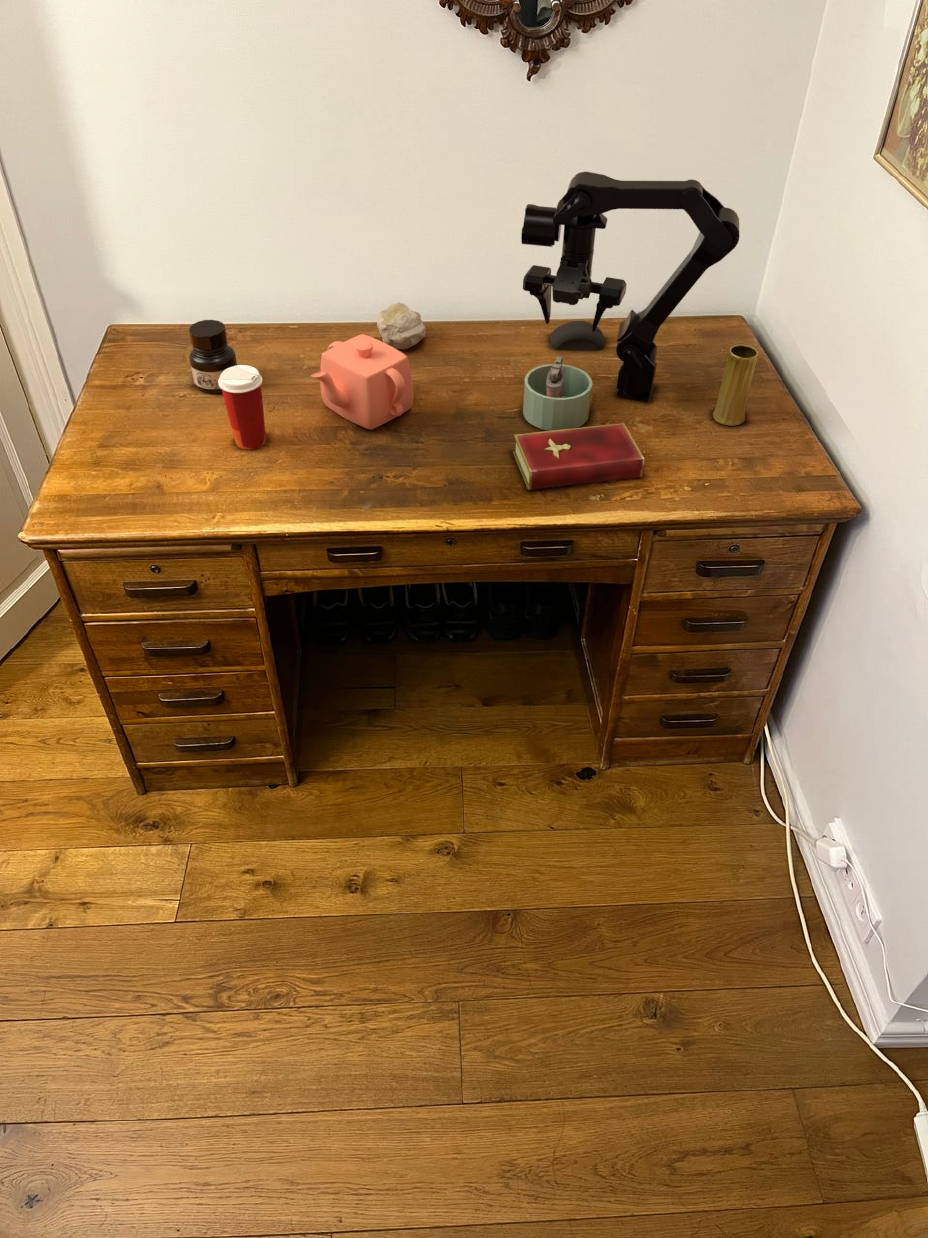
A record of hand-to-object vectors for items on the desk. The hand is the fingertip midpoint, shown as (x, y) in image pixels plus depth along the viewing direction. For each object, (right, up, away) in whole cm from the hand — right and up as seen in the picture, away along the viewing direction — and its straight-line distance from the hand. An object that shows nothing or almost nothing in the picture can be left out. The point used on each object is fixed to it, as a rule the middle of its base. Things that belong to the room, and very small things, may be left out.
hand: (570, 326), depth 190 cm
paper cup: (-60, -23, -7) cm, 65 cm away
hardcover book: (0, -29, -11) cm, 31 cm away
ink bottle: (-70, -9, +8) cm, 71 cm away
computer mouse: (+4, +3, +21) cm, 21 cm away
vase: (+31, -18, +1) cm, 35 cm away
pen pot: (-3, -16, +1) cm, 17 cm away
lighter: (-3, -16, +1) cm, 16 cm away
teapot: (-41, -17, 0) cm, 45 cm away
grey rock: (-34, +2, +20) cm, 39 cm away
